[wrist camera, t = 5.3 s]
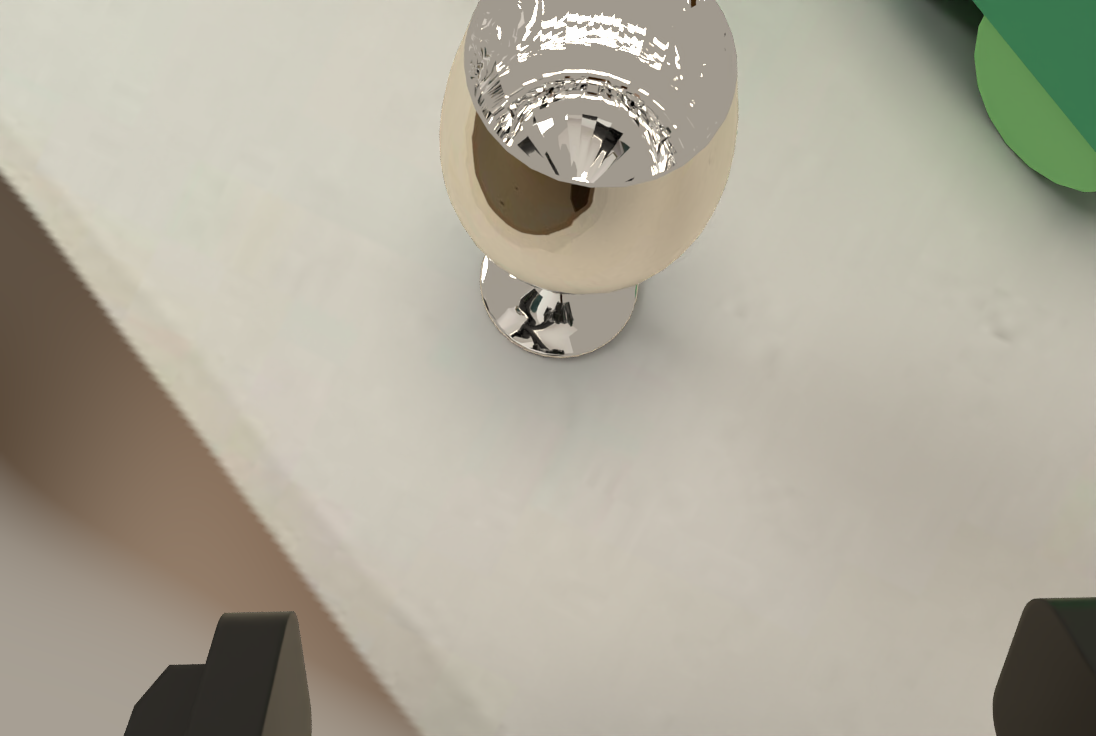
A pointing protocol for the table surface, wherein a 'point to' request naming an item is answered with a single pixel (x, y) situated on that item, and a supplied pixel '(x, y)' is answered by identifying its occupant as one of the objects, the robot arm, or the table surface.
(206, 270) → the table surface
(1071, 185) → the toy tank
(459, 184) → the wineglass
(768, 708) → the table surface
